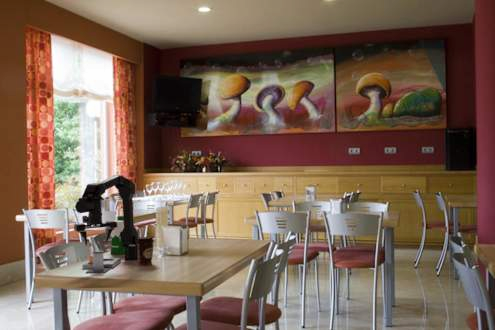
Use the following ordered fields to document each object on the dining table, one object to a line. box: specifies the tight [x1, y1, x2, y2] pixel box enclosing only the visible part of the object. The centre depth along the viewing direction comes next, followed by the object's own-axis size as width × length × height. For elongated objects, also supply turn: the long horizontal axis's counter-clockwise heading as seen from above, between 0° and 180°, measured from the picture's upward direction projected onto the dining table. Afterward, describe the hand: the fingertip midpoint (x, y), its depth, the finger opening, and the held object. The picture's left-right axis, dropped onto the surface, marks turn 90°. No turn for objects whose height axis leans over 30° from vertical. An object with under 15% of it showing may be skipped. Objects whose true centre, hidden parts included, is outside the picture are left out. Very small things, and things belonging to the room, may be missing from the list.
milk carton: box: [110, 215, 126, 256], centre depth 296 cm, size 9×9×20 cm
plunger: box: [88, 254, 93, 264], centre depth 258 cm, size 4×4×4 cm
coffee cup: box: [136, 236, 155, 266], centre depth 262 cm, size 9×8×13 cm
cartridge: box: [91, 250, 104, 271], centre depth 249 cm, size 5×5×8 cm
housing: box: [82, 257, 122, 270], centre depth 262 cm, size 14×16×2 cm
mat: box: [85, 268, 112, 274], centre depth 248 cm, size 9×9×1 cm
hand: (96, 244), depth 251 cm, fingers open, 9 cm apart
